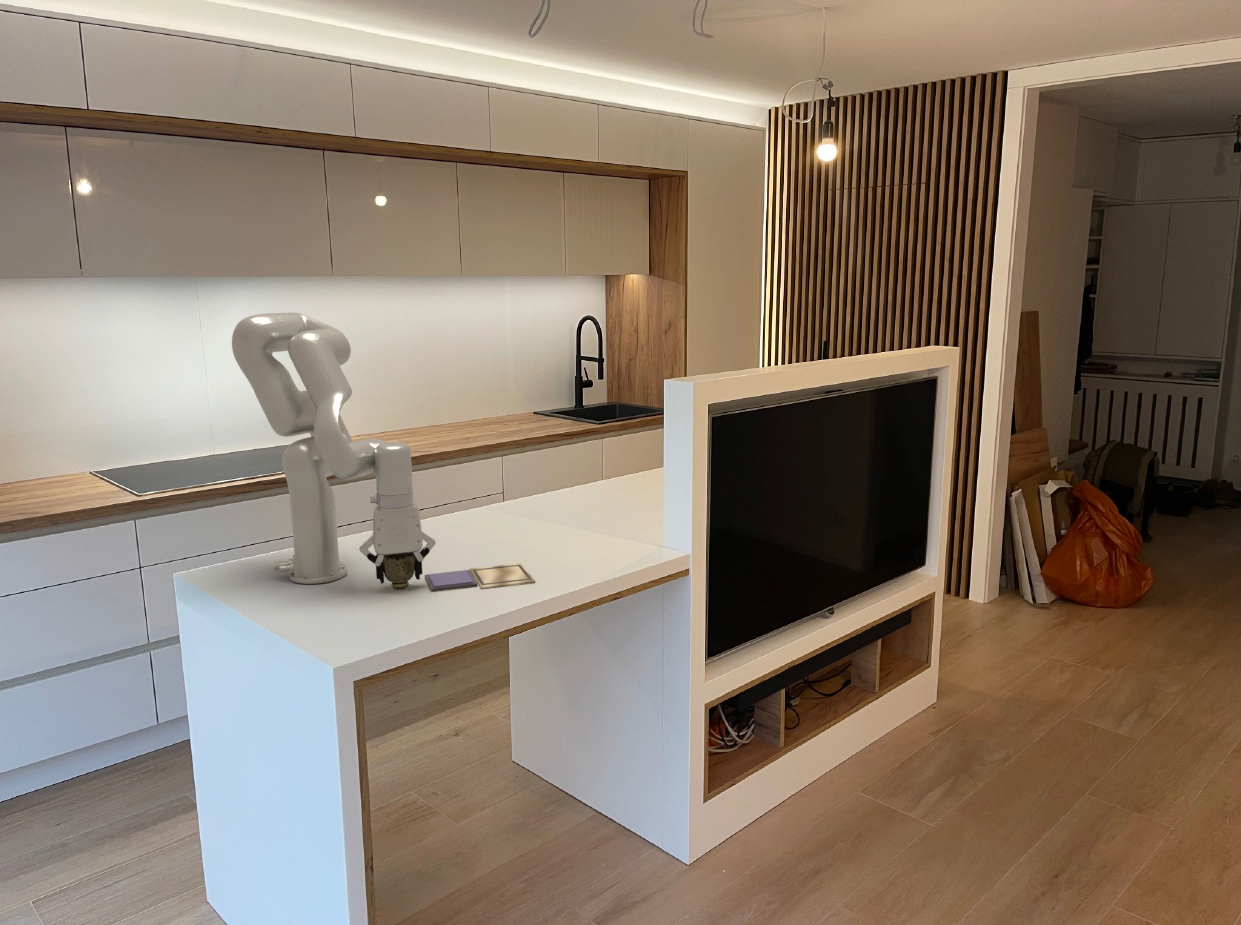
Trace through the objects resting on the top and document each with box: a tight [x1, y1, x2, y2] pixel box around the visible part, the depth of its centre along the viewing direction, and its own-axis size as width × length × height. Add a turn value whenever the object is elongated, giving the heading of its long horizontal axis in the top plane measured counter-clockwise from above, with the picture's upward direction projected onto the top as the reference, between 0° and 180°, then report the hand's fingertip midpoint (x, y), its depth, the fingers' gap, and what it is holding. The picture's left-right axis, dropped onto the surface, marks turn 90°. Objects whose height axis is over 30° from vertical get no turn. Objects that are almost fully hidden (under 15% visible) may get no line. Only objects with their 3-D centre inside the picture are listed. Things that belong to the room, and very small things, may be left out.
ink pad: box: [424, 569, 478, 593], centre depth 206 cm, size 10×10×1 cm
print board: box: [468, 562, 536, 590], centre depth 210 cm, size 12×14×1 cm
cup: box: [382, 552, 416, 591], centre depth 202 cm, size 8×7×8 cm
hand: (399, 579), depth 202 cm, fingers closed on cup, 7 cm apart
